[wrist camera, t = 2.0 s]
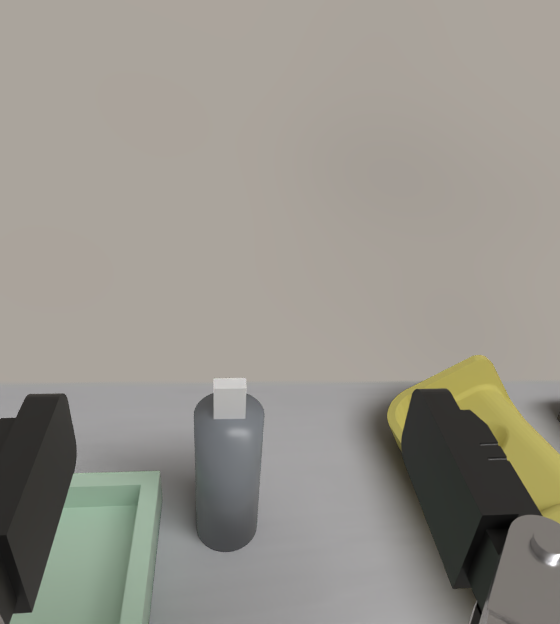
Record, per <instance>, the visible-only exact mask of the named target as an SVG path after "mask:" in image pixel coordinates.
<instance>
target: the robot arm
mask: <svg viewBox="0 0 560 624" xmlns="http://www.w3.org/2000/svg"><path fill="white" fill-rule="evenodd" d="M401 449H402V456H403V460H404V463H405V466H406V468H407V471H408V473H409V476H410V479H411V481H412V484H413V486H414V489H415V492H416V494H417V497H418V499H419V502H420V505H421V507H422V510H423V512H424V515H425V518H426V520H427V523H428V525H429V528H430V531H431V533H432V536H433V538H434V541H435V544H436V546H437V549H438V551H439V554H440V557H441V559H442V562H443V564H444V567H445V570H446V572H447V575H448V577H449V580H450V583H451V585H452V588H453V589H457V588H472V590H473V593H474V595H475V597H476V600H477V601H476V603H475V605H474V607H473V611H472V614H471V617H470V620H469V624H560V524H559V523H558V522H556V521H554V520H552V519H549V518H546V517H543V515H542V514H541V512H540V511H539V509H538V507H537V506H536V504H535V502H534V501H533V499H532V497H531V496H530V494H529V492H528V491H527V489H526V487H525V486H524V484H523V483H522V481H521V479H520V478H519V476H518V474H517V473H516V471H515V469H514V468H513V466H512V464H511V463H510V461H507V456H506V454H505V453H504V451H503V449H502V448H501V446H498V441H497V440H496V438H495V436H494V435H493V433H492V431H491V430H490V428H489V426H488V425H487V424H486V423H485V422H484V421H483V420H481V419H480V418H479V417H478V416H477V415H476V414H475V413H473V412H472V411H471V410H460V408H459V406H458V404H457V403H456V401H455V399H454V397H453V395H452V394H451V392H450V391H449V390H448V389H446V388H438V389H415V390H414V391H413V393H412V396H411V400H410V404H409V408H408V412H407V416H406V420H405V424H404V428H403V432H402V438H401ZM76 452H77V450H76V440H75V435H74V430H73V425H72V420H71V414H70V409H69V404H68V400H67V397H66V395H65V394H29V395H27V396H26V398H25V400H24V402H23V404H22V406H21V408H20V410H19V412H18V415H17V417H16V418H1V419H0V624H10V621H11V618H12V615H13V614H17V613H32V611H33V608H34V605H35V601H36V598H37V595H38V591H39V588H40V584H41V581H42V578H43V574H44V571H45V568H46V564H47V561H48V557H49V554H50V551H51V547H52V544H53V541H54V537H55V534H56V531H57V527H58V524H59V520H60V517H61V514H62V510H63V507H64V504H65V500H66V497H67V494H68V490H69V487H70V483H71V480H72V477H73V473H74V470H75V464H76Z"/></svg>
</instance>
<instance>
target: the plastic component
mask: <svg viewBox="0 0 560 624" xmlns="http://www.w3.org/2000/svg"><path fill="white" fill-rule="evenodd" d="M438 388H446V389H448V390H449V391H450V392H451V394H452V395H453V397H454V399H455V401H456V403H457V404H458V406H459V408H460V410H471V411H472V412H473V413H475V414H476V415H477V416H478V417H479V418H480V419H481V420H483V421H484V422H485V423H486V424H487V425H488V426H489V428H490V430H491V431H492V433H493V435H494V436H495V438H496V440H497V441H498V446H501V448H502V449H503V451H504V453H505V454H506V456H507V461H510V463H511V464H512V466H513V468H514V469H515V471H516V473H517V474H518V476H519V478H520V479H521V481H522V483H523V484H524V486H525V487H526V489H527V491H528V492H529V494H530V496H531V497H532V499H533V501H534V502H535V504H536V506H537V507H538V509H539V511H540V512H541V514H542V515H543V517H546V518H549V519H552V520H554V521H556V522H558V523H559V524H560V454H559V453H558V452H557V451H556V450H555V449H554V448H553V447H552V446H551V445H550V444H549V443H548V442H547V441H546V440H545V439H544V438H543V437H542V436H541V435H540V434H539V433H538V432H537V431H536V430H535V429H534V428H533V427H532V426H531V425H530V424H529V423H528V422H527V421H526V420H525V419H524V418H523V417H522V415H521V414H520V413H519V411H518V410H517V409H516V407H515V406H514V404H513V403H512V401H511V400H510V398H509V396H508V394H507V392H506V390H505V388H504V386H503V384H502V382H501V380H500V378H499V376H498V374H497V372H496V370H495V368H494V366H493V364H492V363H491V361H489V360H488V359H487V358H486V357H485V356H482V355H475V356H472V357H470V358H468V359H466V360H464V361H462V362H460V363H458V364H456V365H454V366H452V367H450V368H448V369H446V370H444V371H442V372H440V373H438V374H436V375H434V376H432V377H430V378H428V379H426V380H424V381H422V382H420V383H418V384H416V385H414V386H412V387H410V388H408V389H406V390H404V391H403V392H401V393H400V394H399V395H397V396H396V398H395V399H394V400H393V401H392V402H391V404H390V406H389V408H388V412H387V419H388V423H389V426H390V428H391V430H392V433H393V435H394V437H395V440H396V442H397V445H398V447H399V449H400V450H401V452H402V449H401V438H402V432H403V428H404V424H405V420H406V416H407V412H408V408H409V404H410V400H411V396H412V393H413V391H414V390H415V389H438Z"/></svg>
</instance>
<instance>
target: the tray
mask: <svg viewBox="0 0 560 624" xmlns="http://www.w3.org/2000/svg"><path fill="white" fill-rule="evenodd" d="M161 507H162V488H161V476H160V471H137V472H104V473H73V477H72V480H71V483H70V487H69V490H68V494H67V497H66V500H65V504H64V507H63V510H62V514H61V517H60V520H59V524H58V527H57V531H56V534H55V537H54V541H53V544H52V547H51V551H50V554H49V557H48V561H47V564H46V568H45V571H44V574H43V578H42V581H41V584H40V588H39V591H38V595H37V598H36V601H35V605H34V608H33V611H32V613H17V614H13V615H12V618H11V621H10V624H149V617H150V608H151V599H152V590H153V581H154V571H155V562H156V553H157V544H158V535H159V526H160V516H161Z"/></svg>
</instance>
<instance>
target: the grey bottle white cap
mask: <svg viewBox="0 0 560 624" xmlns="http://www.w3.org/2000/svg"><path fill="white" fill-rule="evenodd" d="M246 390H247V388H246V378H214V393H212V394H210V395H208V396H206V397H205V398H203V399H202V400H201V401H200V402H199V403H198V404H197V406H196V408H195V411H194V438H195V477H196V517H197V533H198V535H199V537H200V539H201V541H202V542H203V543H204V544H205V545H206V546H208V547H209V548H211V549H213V550H216V551H221V552H230V551H235V550H238V549H240V548H242V547H244V546H245V545H247V544H248V543H249V542H250V541H251V540H252V538H253V537H254V535H255V532H256V528H257V514H258V500H259V485H260V471H261V456H262V442H263V427H264V409H263V407H262V405H261V404H260V402H259V401H258V400H257V399H255V398H254V397H252V396H251V395H249V394H246Z"/></svg>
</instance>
